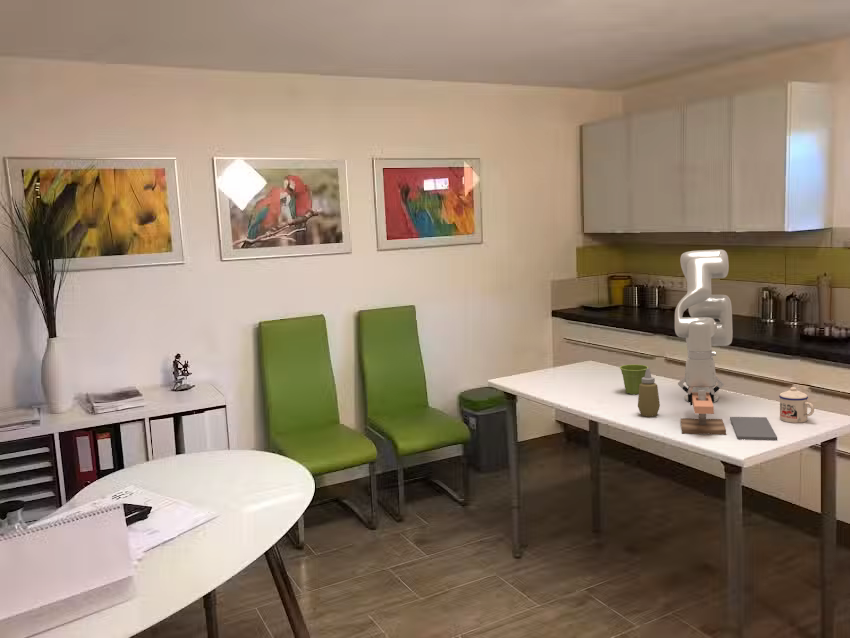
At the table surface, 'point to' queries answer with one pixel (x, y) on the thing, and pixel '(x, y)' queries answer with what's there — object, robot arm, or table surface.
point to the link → (702, 404)
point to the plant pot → (633, 377)
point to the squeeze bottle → (648, 396)
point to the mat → (753, 428)
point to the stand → (702, 422)
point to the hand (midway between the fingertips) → (700, 404)
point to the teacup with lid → (794, 406)
